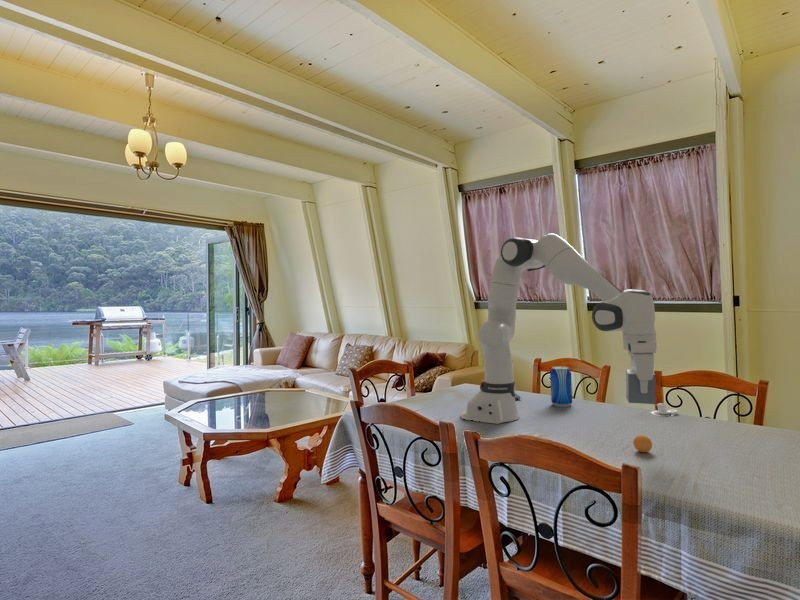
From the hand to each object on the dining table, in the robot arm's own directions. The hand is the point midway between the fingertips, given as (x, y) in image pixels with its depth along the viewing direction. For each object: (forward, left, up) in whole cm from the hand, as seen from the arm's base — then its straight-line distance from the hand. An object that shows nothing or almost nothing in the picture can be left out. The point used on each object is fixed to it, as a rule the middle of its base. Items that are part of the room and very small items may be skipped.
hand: (642, 389), depth 137 cm
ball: (0, 0, -16) cm, 16 cm away
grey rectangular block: (-1, 0, -3) cm, 3 cm away
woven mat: (-49, +60, -20) cm, 80 cm away
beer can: (-25, +52, -19) cm, 61 cm away
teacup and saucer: (+13, +43, -20) cm, 49 cm away
